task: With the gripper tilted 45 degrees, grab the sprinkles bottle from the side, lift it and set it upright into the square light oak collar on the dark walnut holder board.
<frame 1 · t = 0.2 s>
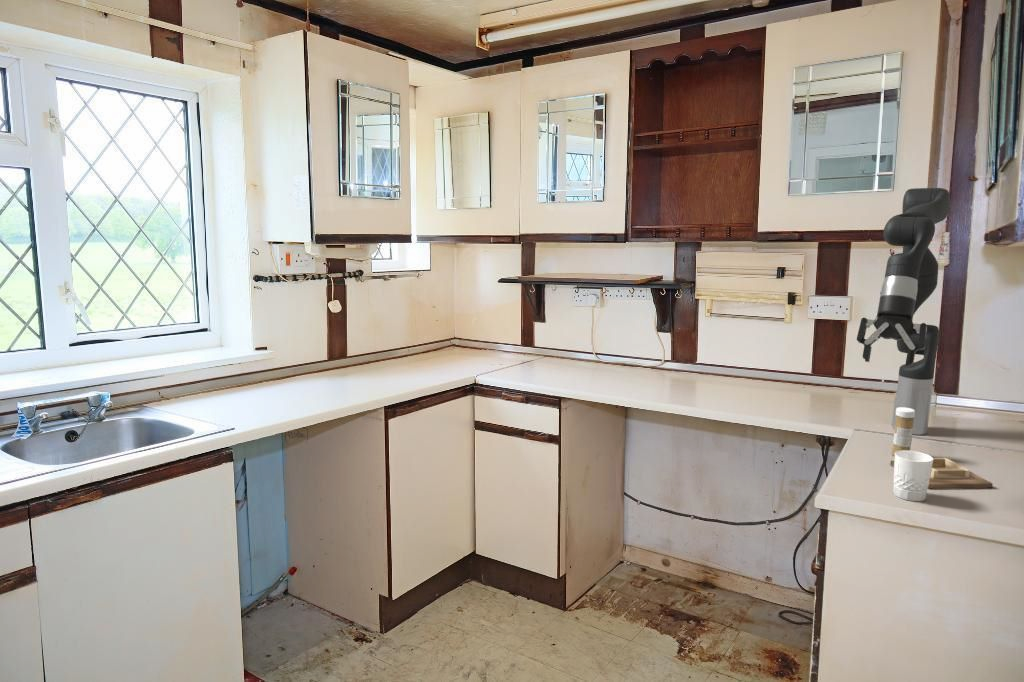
hand: (886, 363, 163), 31 cm above the table, tool tilted 20°, fingers open, 8 cm apart
holder board: (938, 476, 175), on the table
sprinkles bottle: (900, 456, 190), on the table
white cup: (909, 496, 163), on the table
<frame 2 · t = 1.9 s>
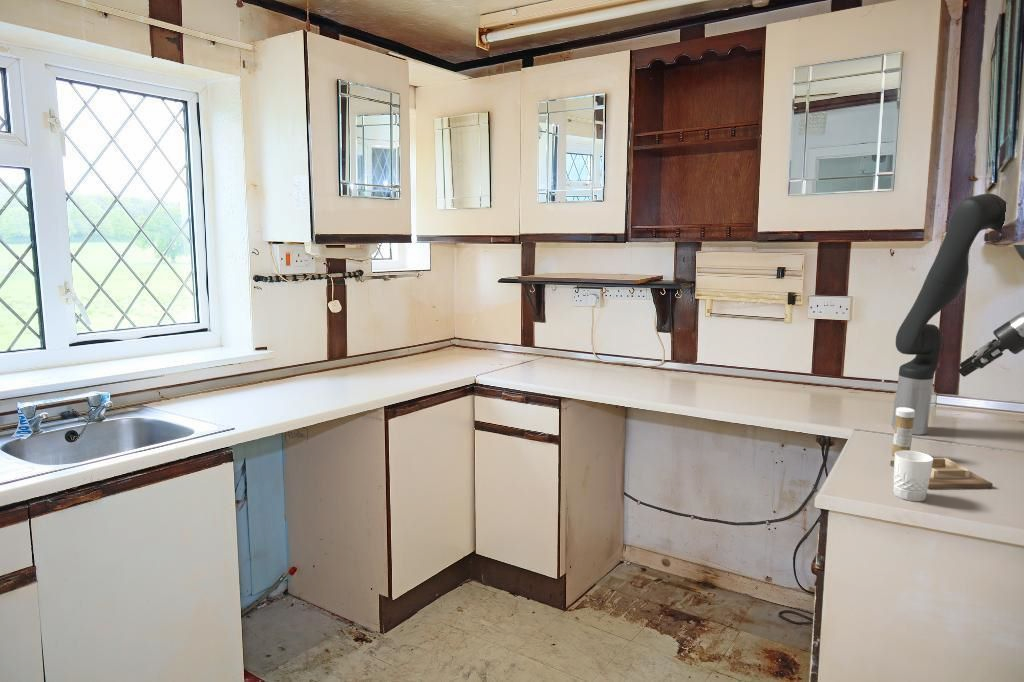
hand: (961, 370, 179), 26 cm above the table, tool tilted 45°, fingers open, 8 cm apart
nothing on the table moved.
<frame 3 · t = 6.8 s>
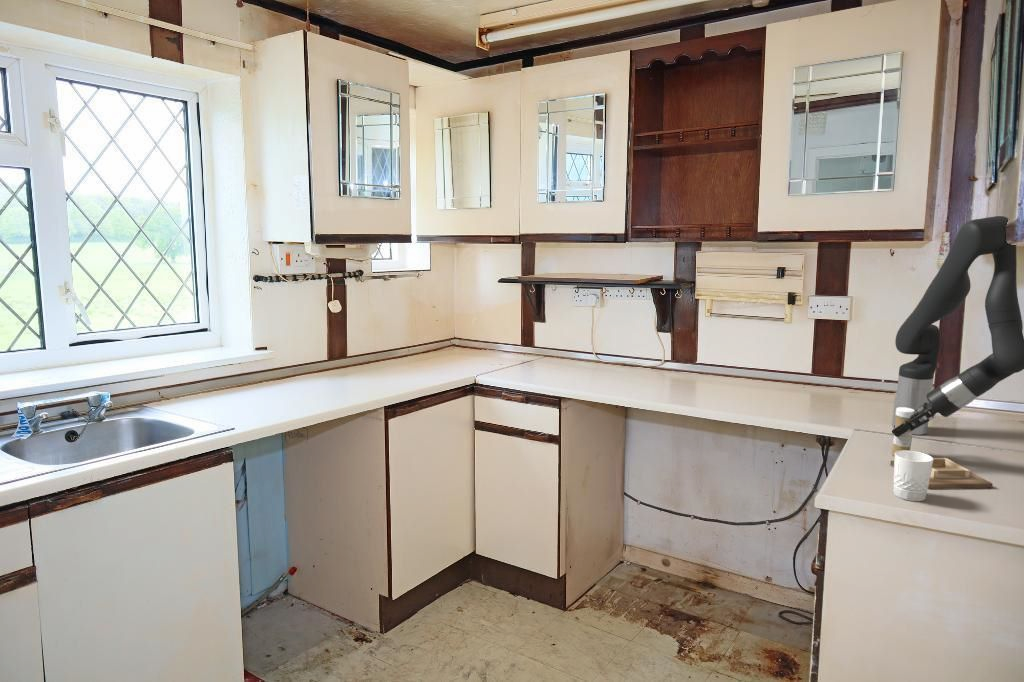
hand: (895, 431, 190), 7 cm above the table, tool tilted 45°, fingers closed on sprinkles bottle, 4 cm apart
sprinkles bottle: (900, 456, 190), on the table, touching gripper
everything else where it was.
when the fingers open (9 cm above the table, at t = 12.7 s): sprinkles bottle stays where it is, resting on holder board.
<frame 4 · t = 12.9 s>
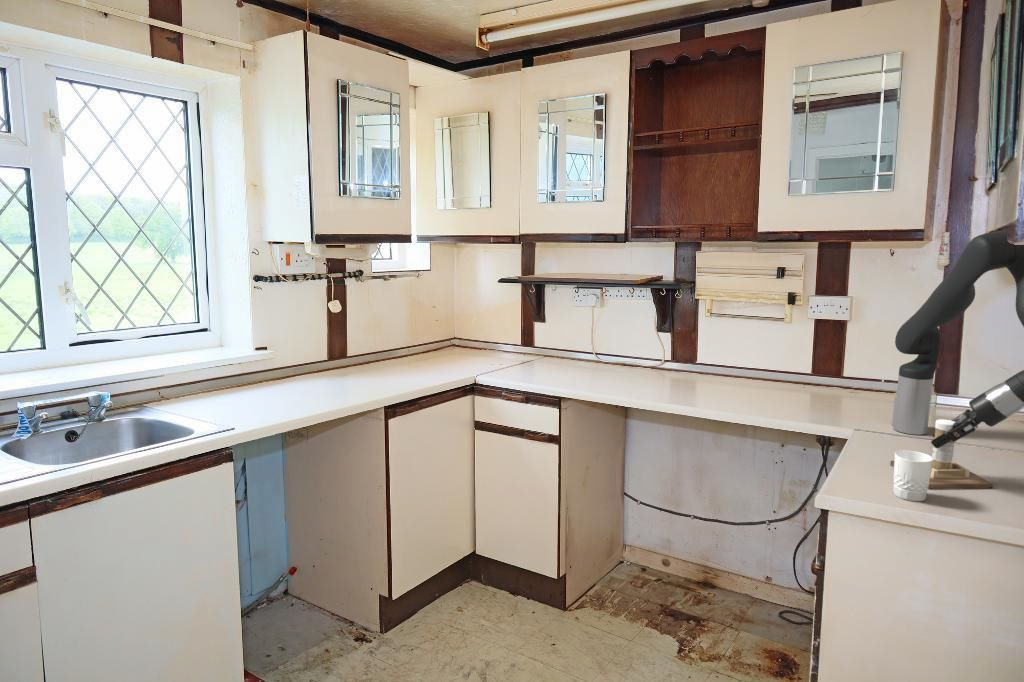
hand: (934, 441, 174), 9 cm above the table, tool tilted 45°, fingers open, 5 cm apart
sprinkles bottle: (940, 472, 175), point 1 cm above the table, touching holder board
everything else where it was.
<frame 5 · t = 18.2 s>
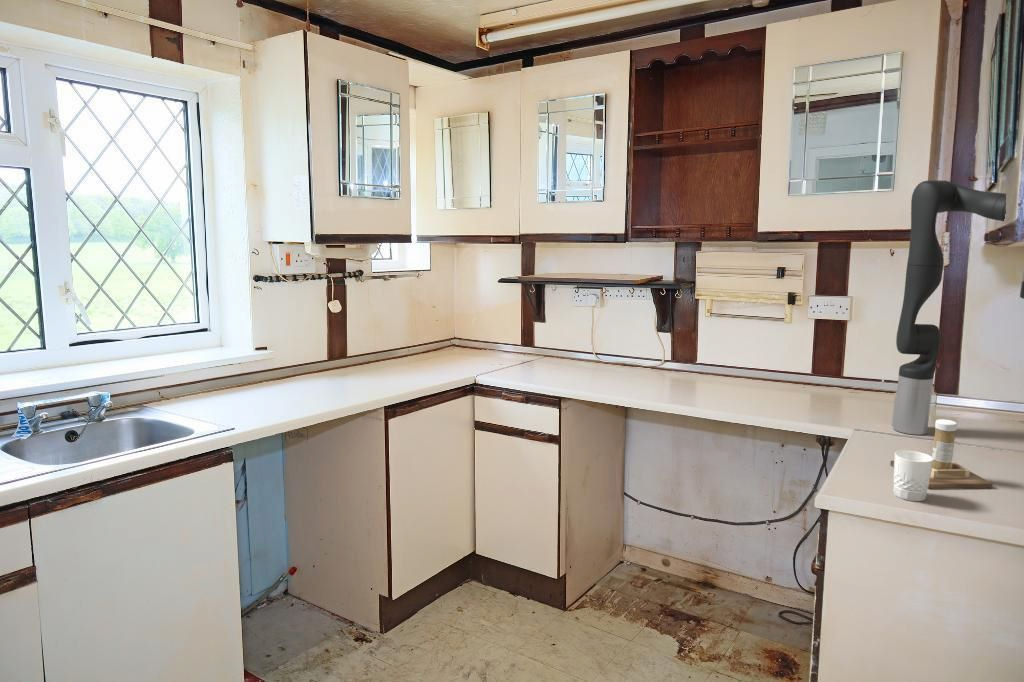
nothing on the table moved.
at the end: sprinkles bottle 0.3 cm off-centre on the holder board, point 1.0 cm above the holder board's base; sprinkles bottle tilted 0°; the gripper is holding nothing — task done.
